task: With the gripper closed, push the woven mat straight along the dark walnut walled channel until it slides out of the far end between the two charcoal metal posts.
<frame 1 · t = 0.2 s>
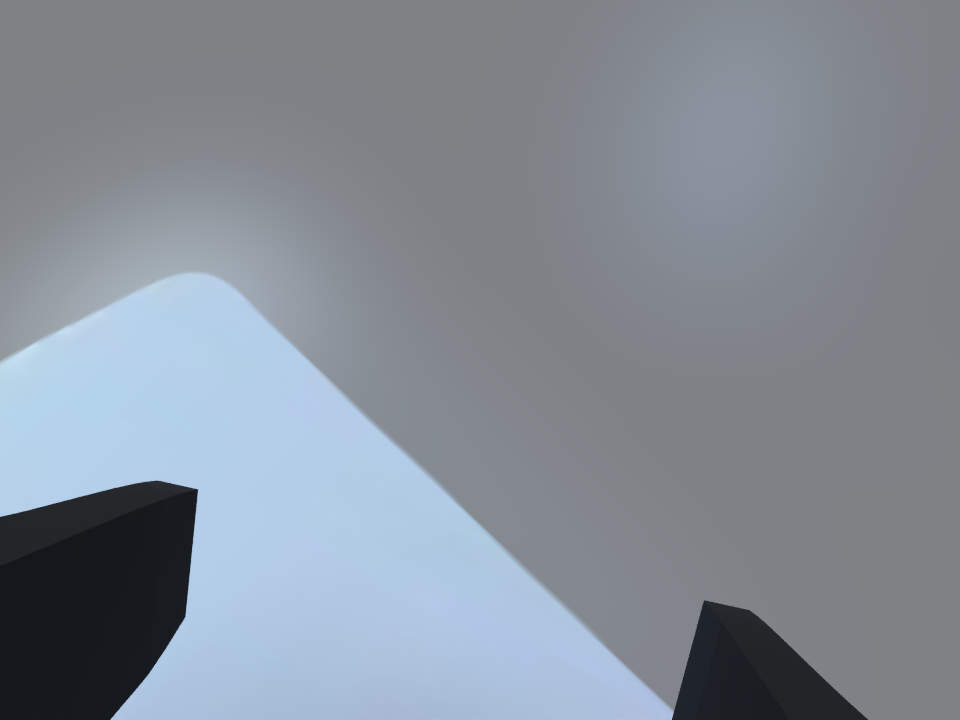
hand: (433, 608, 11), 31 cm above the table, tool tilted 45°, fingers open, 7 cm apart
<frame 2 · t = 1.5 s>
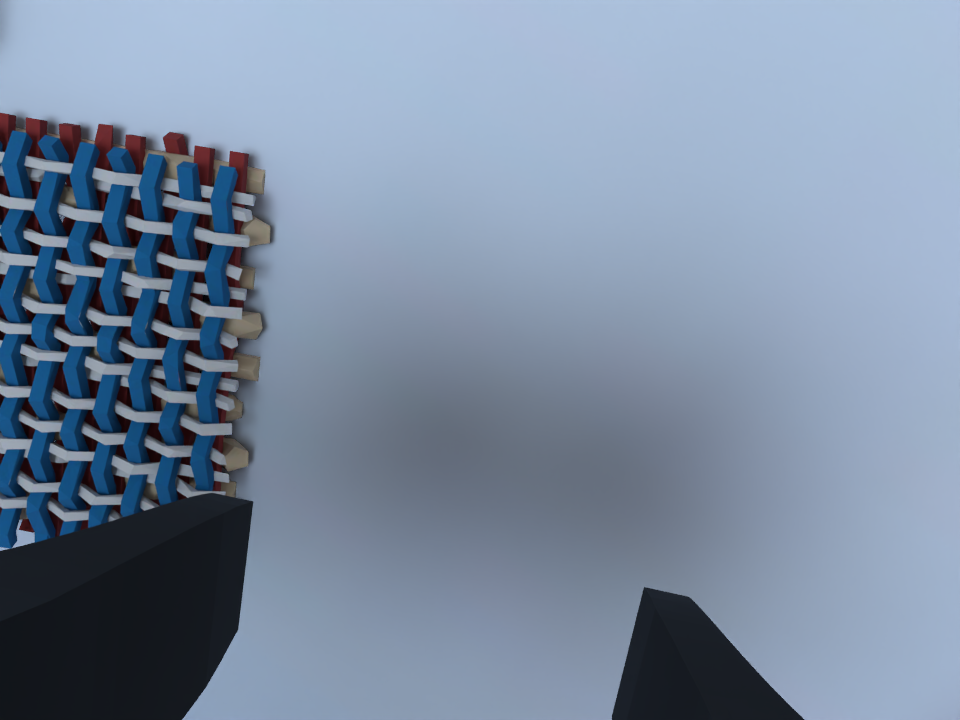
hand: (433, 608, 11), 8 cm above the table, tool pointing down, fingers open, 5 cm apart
woven mat: (77, 330, 21), on the table
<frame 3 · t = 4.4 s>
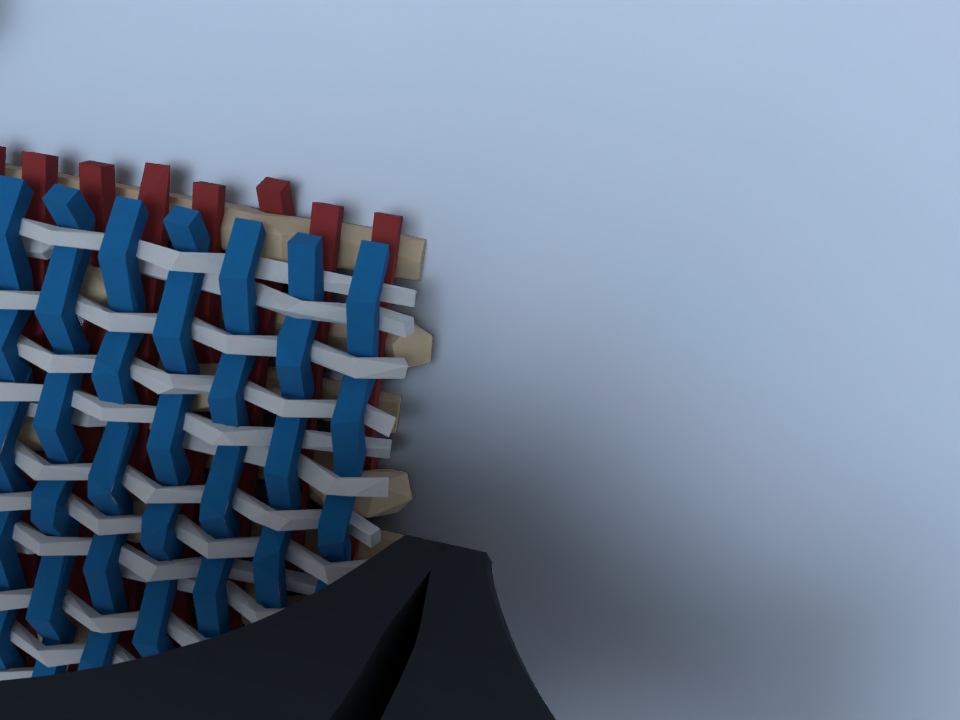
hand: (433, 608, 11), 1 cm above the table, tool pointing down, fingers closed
woven mat: (103, 478, 13), on the table, touching gripper
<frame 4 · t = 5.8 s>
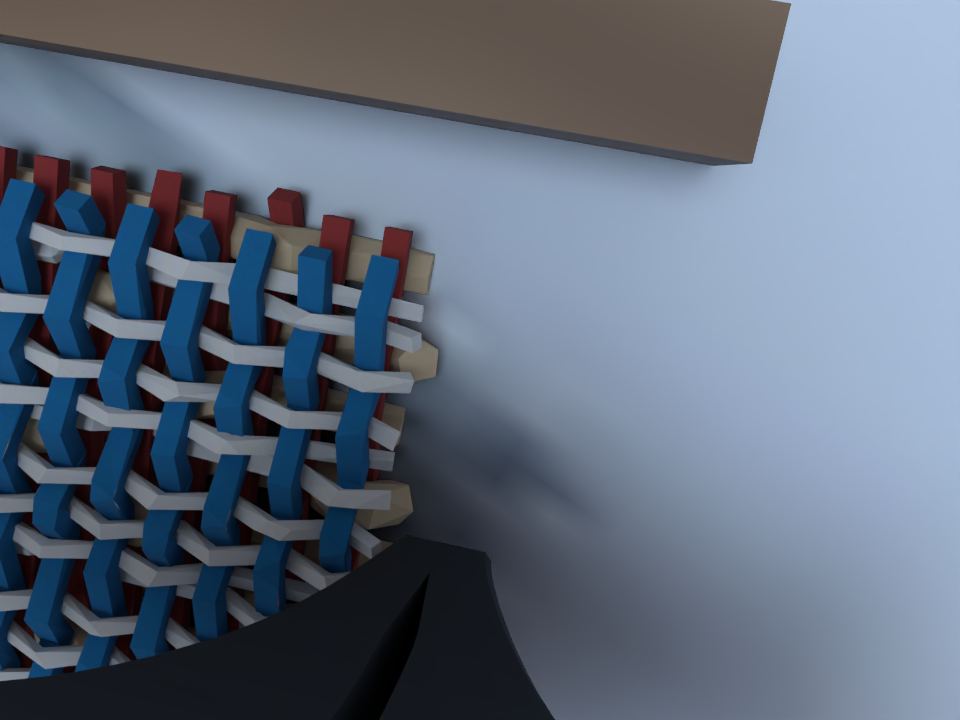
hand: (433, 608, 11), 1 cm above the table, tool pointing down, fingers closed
woven mat: (104, 480, 13), on the table
walled channel: (99, 500, 13), on the table
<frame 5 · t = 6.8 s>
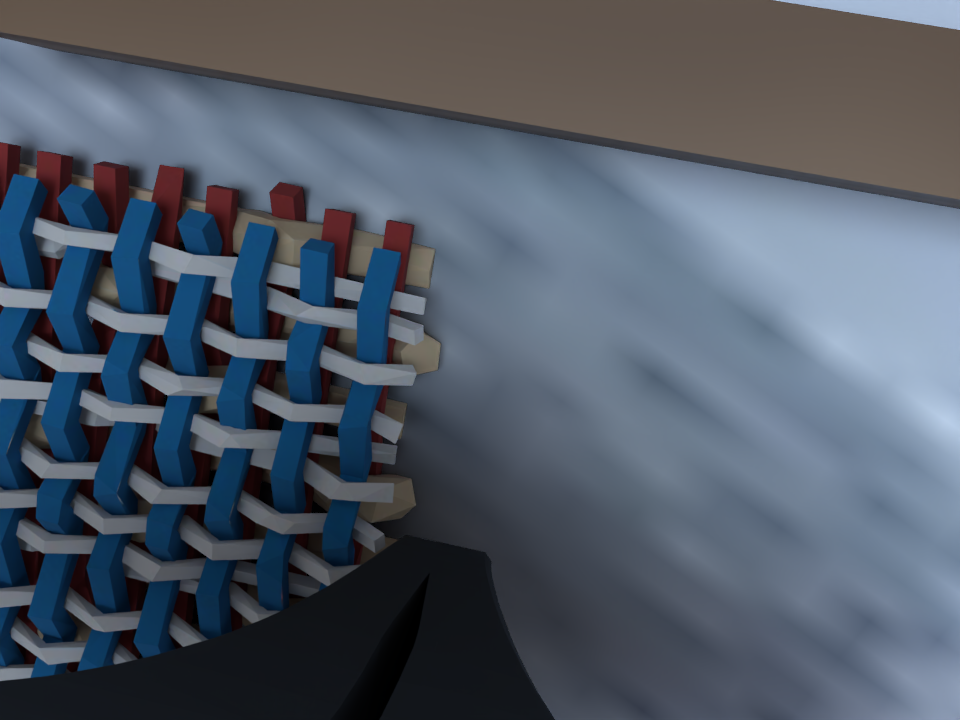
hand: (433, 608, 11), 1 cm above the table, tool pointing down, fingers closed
woven mat: (107, 476, 13), on the table, touching gripper
walled channel: (539, 595, 12), on the table
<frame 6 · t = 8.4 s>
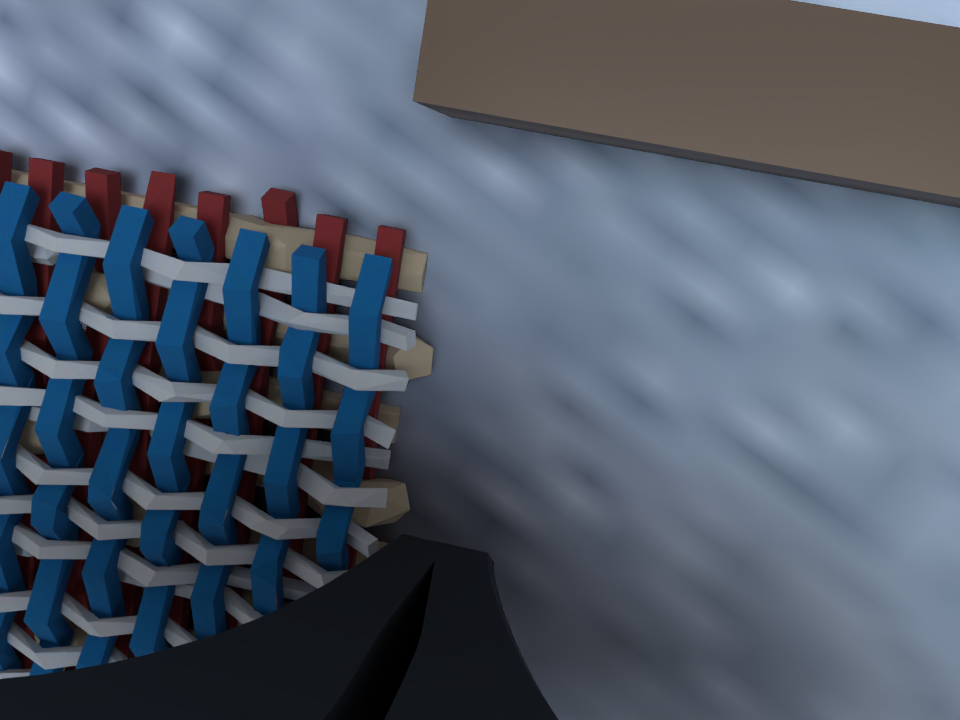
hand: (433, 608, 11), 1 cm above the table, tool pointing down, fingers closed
woven mat: (103, 481, 13), on the table
walled channel: (920, 679, 12), on the table
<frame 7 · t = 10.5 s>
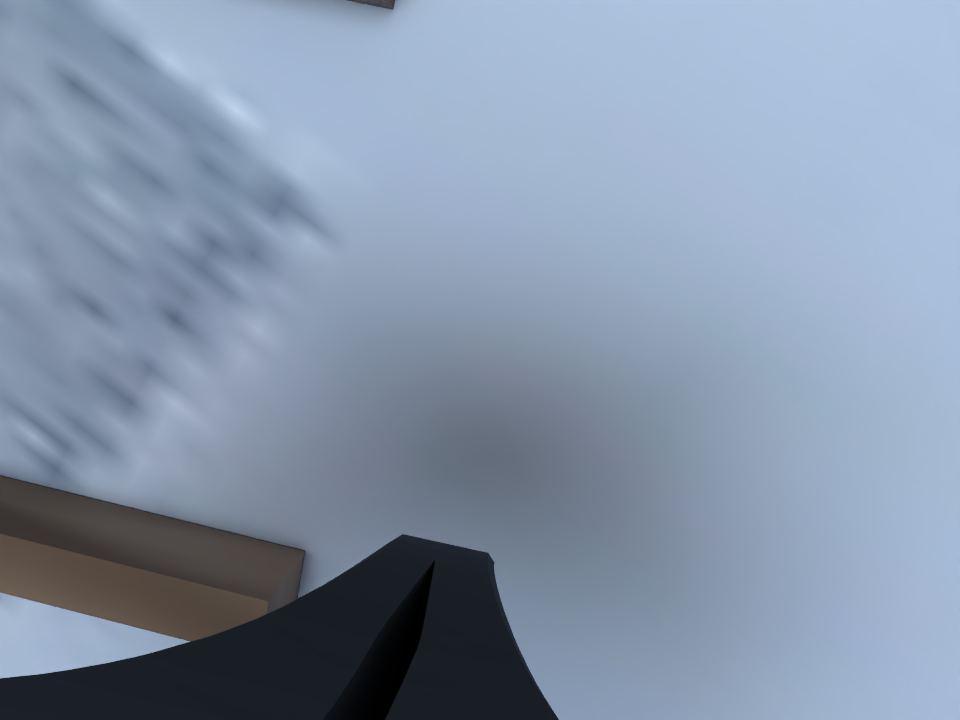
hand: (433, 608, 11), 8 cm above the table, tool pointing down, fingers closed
walled channel: (25, 230, 20), on the table
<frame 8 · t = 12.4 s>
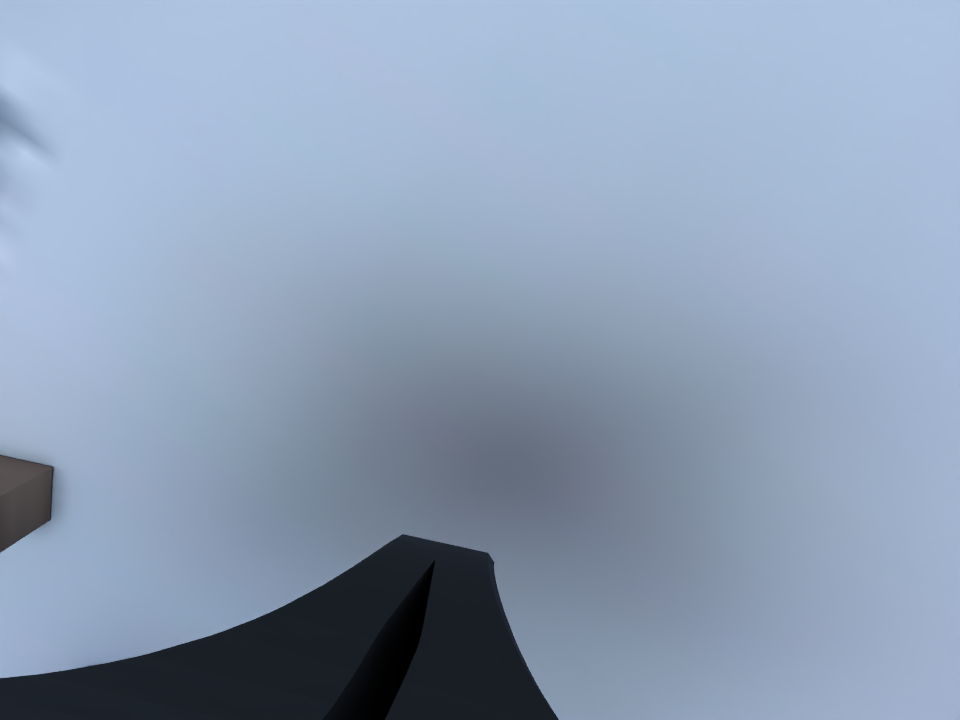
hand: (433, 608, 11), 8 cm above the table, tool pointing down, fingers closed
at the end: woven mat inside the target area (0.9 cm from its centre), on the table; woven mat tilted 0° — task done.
